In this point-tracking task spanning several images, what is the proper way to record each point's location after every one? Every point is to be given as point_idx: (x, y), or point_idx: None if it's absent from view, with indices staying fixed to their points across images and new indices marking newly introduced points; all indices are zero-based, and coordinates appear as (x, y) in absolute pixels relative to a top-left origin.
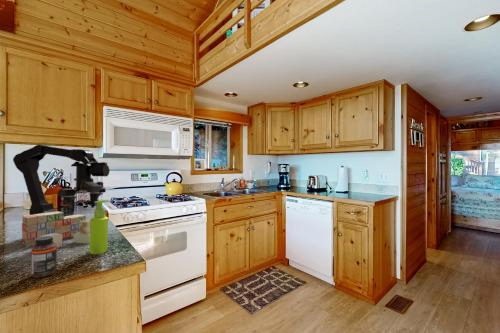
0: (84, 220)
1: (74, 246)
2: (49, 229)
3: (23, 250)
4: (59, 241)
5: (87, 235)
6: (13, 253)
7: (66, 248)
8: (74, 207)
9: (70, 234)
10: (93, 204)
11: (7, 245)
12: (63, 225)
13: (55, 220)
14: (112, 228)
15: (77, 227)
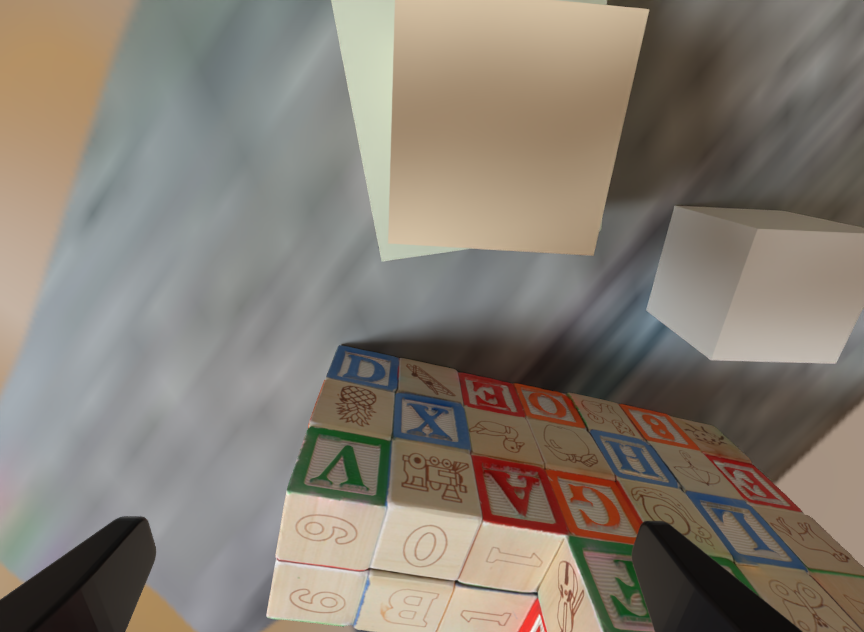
0: (509, 249)
1: (675, 70)
2: (650, 479)
3: (790, 374)
4: (735, 214)
5: (602, 1)
6: (850, 369)
7: (737, 90)
8: (709, 594)
9: (461, 386)
10: (66, 600)
11: None
12: (543, 469)
13: None
14: (53, 281)
15: (403, 409)
